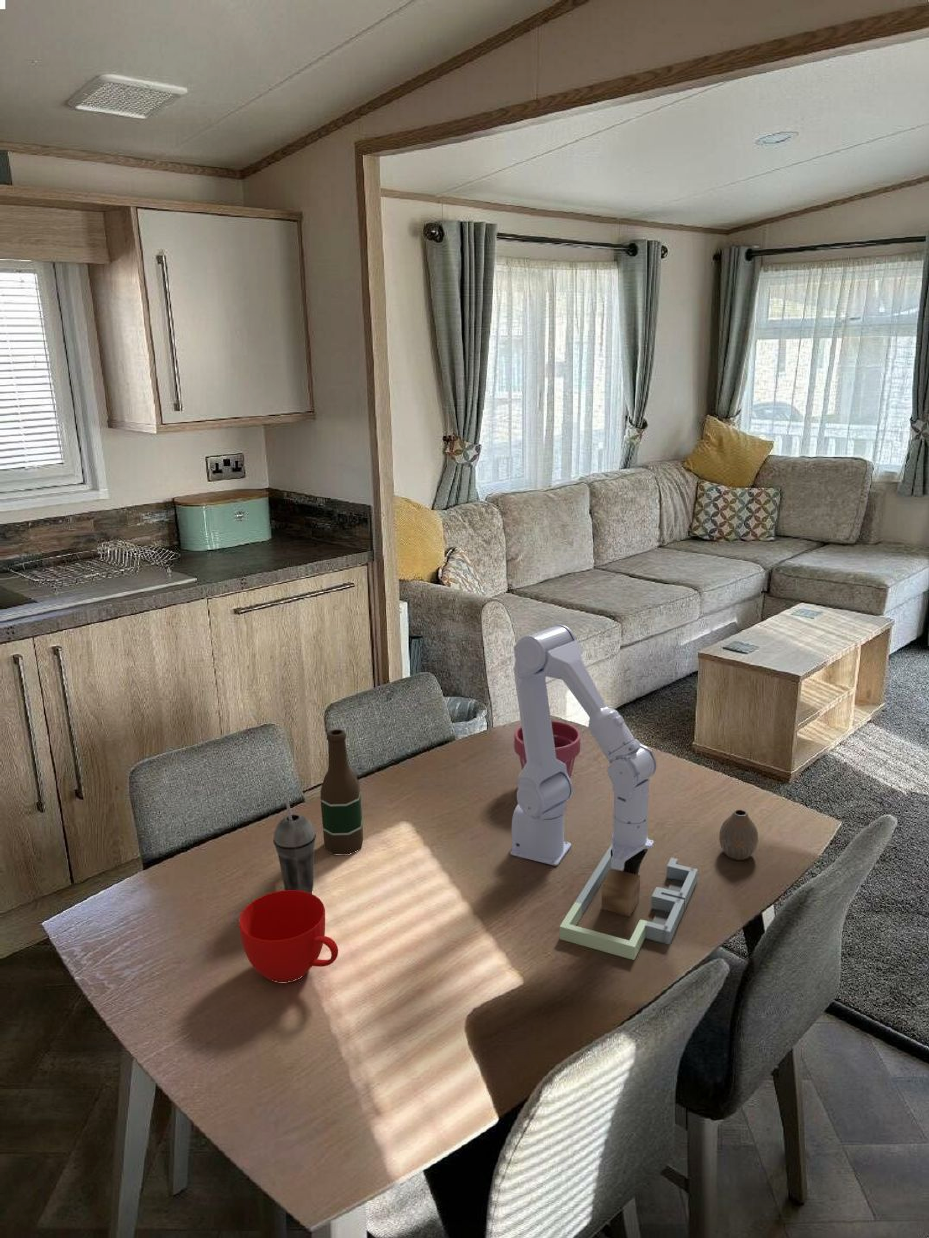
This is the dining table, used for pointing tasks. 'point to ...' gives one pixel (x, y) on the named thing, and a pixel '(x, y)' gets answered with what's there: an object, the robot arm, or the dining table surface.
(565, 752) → the plant pot
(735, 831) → the vase
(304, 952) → the ceramic cup
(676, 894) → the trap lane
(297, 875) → the beverage cup
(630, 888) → the walnut block
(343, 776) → the beer bottle
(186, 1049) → the dining table surface
